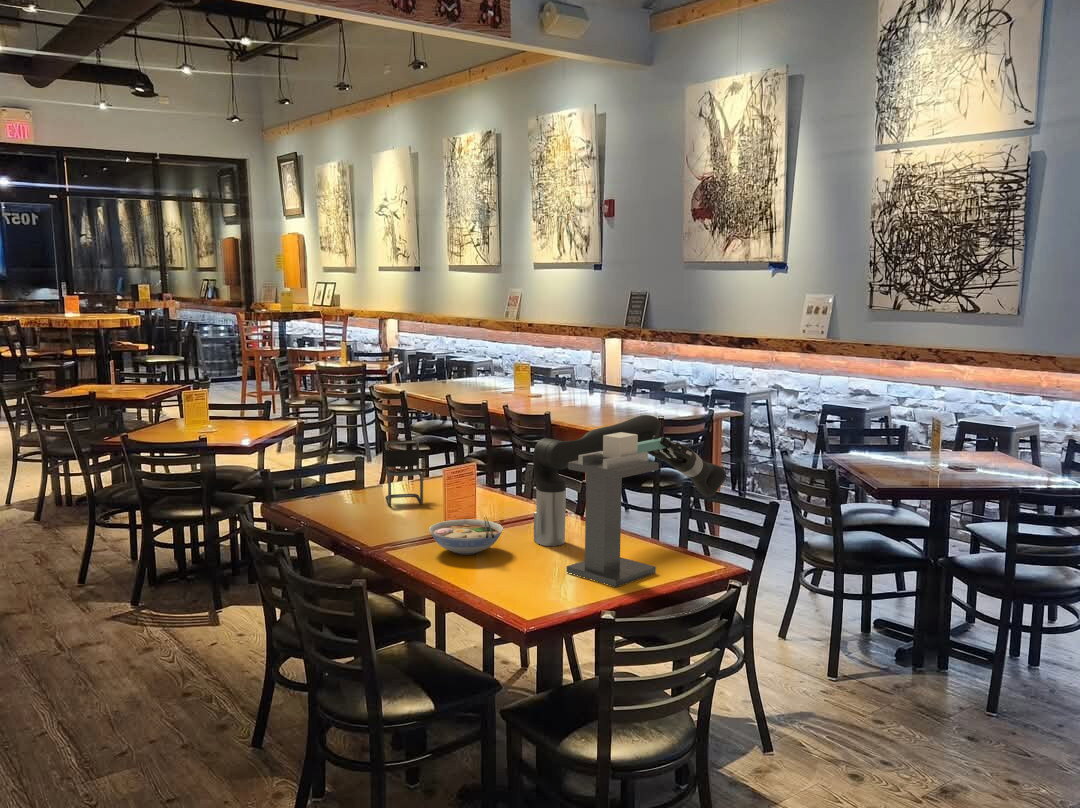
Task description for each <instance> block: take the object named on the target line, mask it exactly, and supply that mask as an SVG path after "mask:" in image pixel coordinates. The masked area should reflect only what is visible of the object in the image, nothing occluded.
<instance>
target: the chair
mask: <svg viewBox="0 0 1080 808" xmlns="http://www.w3.org/2000/svg"><path fill="white" fill-rule="evenodd" d="M394 444H415V449H409V450H401V451H399V450H389V445H394ZM384 466H385V467H384V469H385V474H386V477H387V495H386V496H385V501H386V503H387V506H388V507H390V506H391V505H392V498H407V497H408V498H409V497H413V498H416V499H417V501H418V503H419V504H420V505H423V503H424V477H423V474H422V471H421V470H420V443H419V441H418V440H414V439H413V440H412V439H411V440H410V439H409V440H408V439H407V440H386V441H384ZM389 467H392V468H393V467H394V468H397V467H398V468H403V467H404V468H406V467H416V469H412V470H404V471H403V470H400V471H399V470H398V471H397V470H389ZM391 476H393V477H411V476H419V486H420V487H419V490H420V491H419V492H420V493H419V494H416V493H404V494H403V493H400V494H399V493H398V494H392V477H391Z"/></svg>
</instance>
